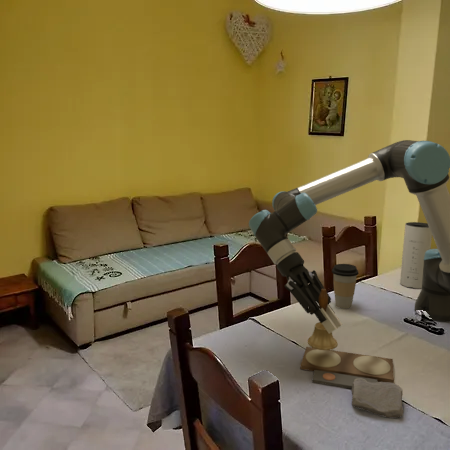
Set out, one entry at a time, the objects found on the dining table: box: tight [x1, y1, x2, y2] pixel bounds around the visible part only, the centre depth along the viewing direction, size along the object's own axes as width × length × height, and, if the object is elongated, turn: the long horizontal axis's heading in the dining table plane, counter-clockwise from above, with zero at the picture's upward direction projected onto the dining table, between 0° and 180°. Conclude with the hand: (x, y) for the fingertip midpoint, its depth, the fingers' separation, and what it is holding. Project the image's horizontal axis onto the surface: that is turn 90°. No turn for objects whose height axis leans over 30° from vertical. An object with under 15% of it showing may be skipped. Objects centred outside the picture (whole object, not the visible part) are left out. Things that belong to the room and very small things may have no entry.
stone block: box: [351, 379, 404, 419], centre depth 107 cm, size 12×5×10 cm
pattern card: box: [311, 370, 378, 390], centre depth 116 cm, size 16×5×1 cm, turn 71°
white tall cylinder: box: [399, 221, 433, 290], centre depth 183 cm, size 11×10×26 cm
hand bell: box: [306, 288, 339, 350], centre depth 123 cm, size 8×8×16 cm
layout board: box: [299, 346, 395, 384], centre depth 124 cm, size 24×11×2 cm, turn 71°
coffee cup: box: [331, 263, 359, 310], centre depth 164 cm, size 9×9×15 cm
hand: (335, 329), depth 121 cm, fingers closed on hand bell, 2 cm apart
